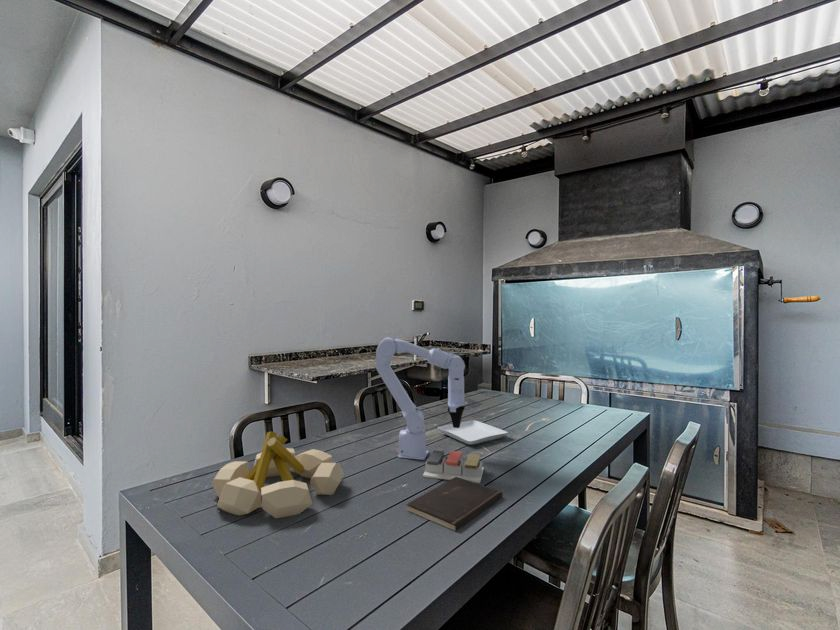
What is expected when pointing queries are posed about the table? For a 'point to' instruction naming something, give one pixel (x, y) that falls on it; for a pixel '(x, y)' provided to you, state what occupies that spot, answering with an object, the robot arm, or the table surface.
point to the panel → (453, 471)
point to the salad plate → (473, 432)
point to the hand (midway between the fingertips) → (456, 427)
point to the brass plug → (472, 461)
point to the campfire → (281, 498)
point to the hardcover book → (454, 502)
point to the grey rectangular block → (435, 458)
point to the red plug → (453, 458)
